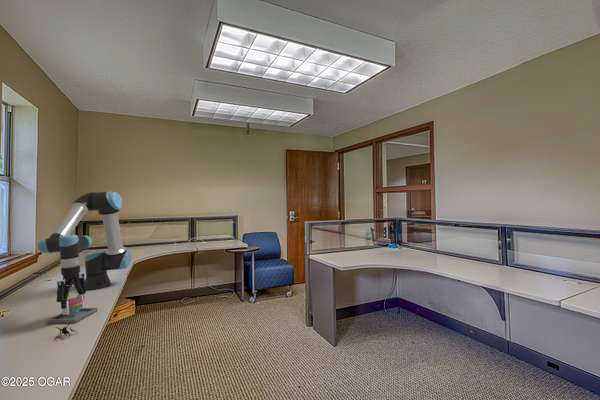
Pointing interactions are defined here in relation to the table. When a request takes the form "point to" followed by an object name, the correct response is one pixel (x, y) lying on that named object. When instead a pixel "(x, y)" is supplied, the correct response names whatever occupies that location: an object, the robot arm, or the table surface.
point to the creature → (65, 331)
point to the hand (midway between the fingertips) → (73, 310)
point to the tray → (73, 316)
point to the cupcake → (74, 304)
